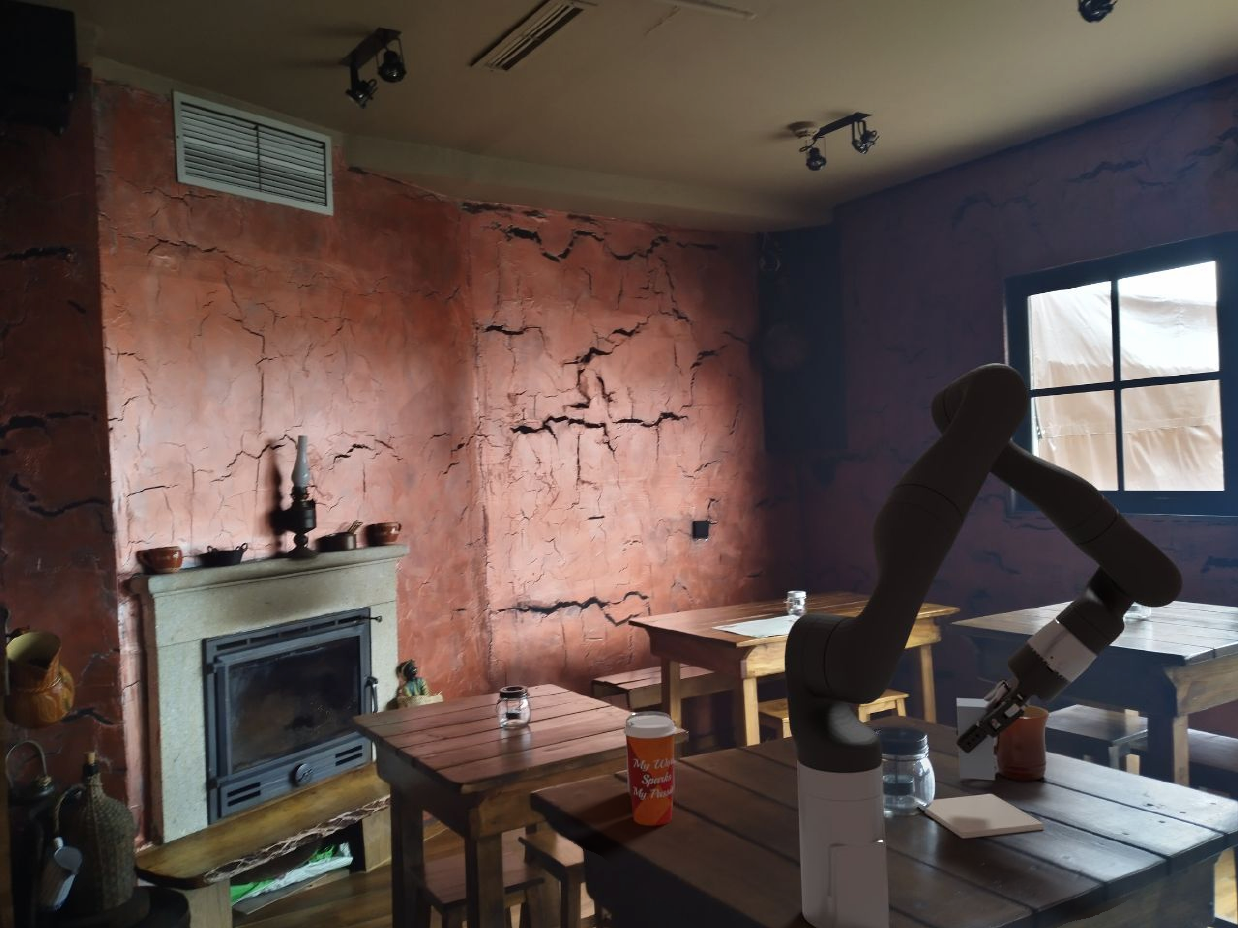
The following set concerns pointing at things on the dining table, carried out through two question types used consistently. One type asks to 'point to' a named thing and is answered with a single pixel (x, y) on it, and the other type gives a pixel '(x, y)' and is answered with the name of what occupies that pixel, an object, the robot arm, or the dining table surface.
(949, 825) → the tile
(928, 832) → the dining table surface
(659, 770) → the paper cup
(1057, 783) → the dining table surface
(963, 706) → the block
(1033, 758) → the mug
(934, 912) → the dining table surface
